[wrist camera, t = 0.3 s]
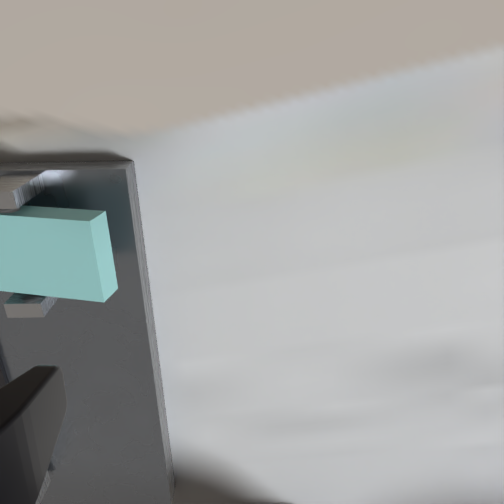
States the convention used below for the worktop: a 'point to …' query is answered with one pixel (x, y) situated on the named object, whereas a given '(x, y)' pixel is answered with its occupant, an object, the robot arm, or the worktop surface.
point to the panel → (94, 345)
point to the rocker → (56, 253)
